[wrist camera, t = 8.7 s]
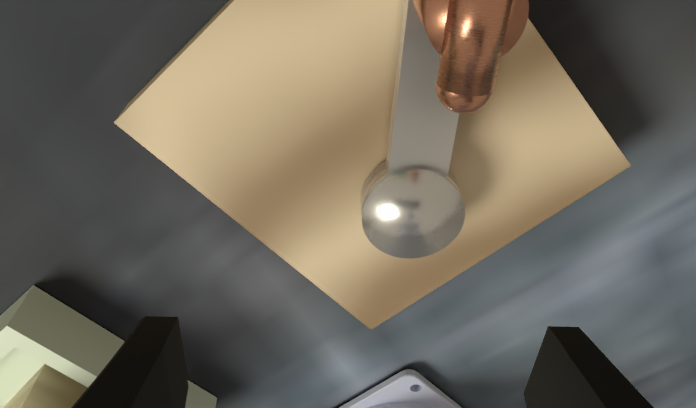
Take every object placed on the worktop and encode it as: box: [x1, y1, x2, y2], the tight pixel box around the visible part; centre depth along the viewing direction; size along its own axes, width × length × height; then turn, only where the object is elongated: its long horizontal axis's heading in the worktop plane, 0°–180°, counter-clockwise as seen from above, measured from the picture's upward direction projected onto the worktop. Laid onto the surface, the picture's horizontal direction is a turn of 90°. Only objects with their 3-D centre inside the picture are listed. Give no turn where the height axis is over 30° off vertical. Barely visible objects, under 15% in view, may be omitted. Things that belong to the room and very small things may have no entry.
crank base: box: [114, 0, 631, 329], centre depth 18 cm, size 12×11×2 cm
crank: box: [360, 0, 529, 259], centre depth 14 cm, size 11×3×5 cm, turn 177°
